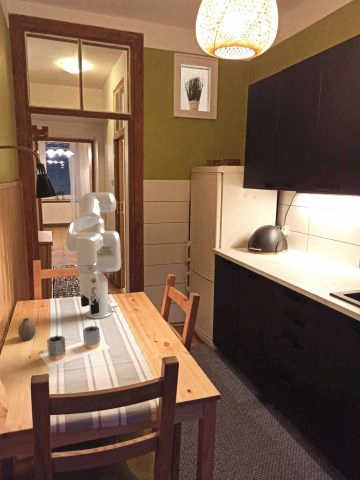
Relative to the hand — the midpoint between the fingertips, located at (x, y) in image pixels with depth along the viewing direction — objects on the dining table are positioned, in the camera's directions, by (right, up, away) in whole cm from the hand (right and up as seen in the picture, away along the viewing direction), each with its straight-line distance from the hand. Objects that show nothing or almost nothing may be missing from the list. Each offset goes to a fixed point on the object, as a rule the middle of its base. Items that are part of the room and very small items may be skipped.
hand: (90, 309), depth 138 cm
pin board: (-5, -17, -2) cm, 18 cm away
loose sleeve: (0, -15, +2) cm, 15 cm away
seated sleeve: (-11, -17, -6) cm, 21 cm away
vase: (-30, -15, +13) cm, 36 cm away
